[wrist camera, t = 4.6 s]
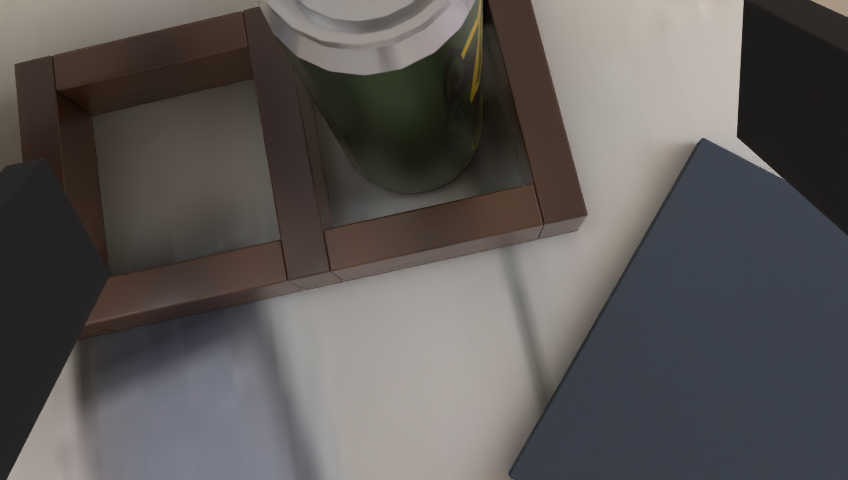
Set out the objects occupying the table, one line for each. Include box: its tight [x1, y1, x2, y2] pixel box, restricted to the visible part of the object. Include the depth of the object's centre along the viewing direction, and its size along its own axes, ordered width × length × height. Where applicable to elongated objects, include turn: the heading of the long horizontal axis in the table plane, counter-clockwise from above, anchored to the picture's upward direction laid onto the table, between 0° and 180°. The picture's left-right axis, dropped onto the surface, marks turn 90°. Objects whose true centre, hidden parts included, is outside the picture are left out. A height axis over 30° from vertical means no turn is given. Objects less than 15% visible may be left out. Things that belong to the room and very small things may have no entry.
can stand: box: [15, 0, 587, 340], centre depth 26 cm, size 19×10×2 cm, turn 102°
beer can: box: [258, 0, 483, 194], centre depth 21 cm, size 5×5×12 cm
